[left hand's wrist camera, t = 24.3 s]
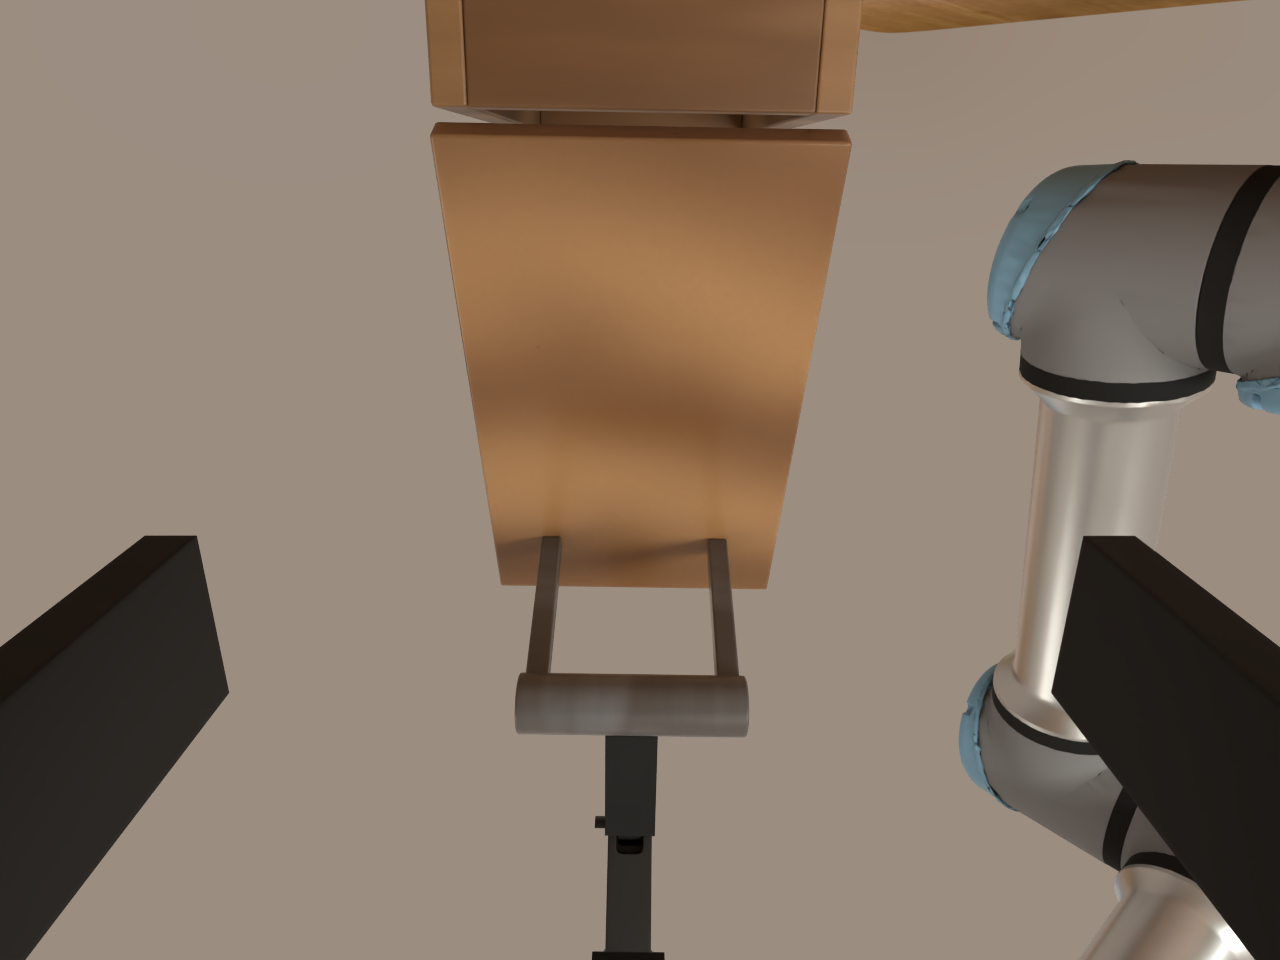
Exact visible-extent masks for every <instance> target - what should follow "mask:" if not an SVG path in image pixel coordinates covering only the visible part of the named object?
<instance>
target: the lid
mask: <svg viewBox="0 0 1280 960" xmlns="http://www.w3.org/2000/svg"><path fill="white" fill-rule="evenodd" d="M430 139H431V146H432V152H433V158H434V165H435V171H436V177H437V183H438V190H439V196H440V202H441V209H442V215H443V221H444V228H445V234H446V240H447V247H448V253H449V259H450V265H451V272H452V278H453V284H454V291H455V297H456V303H457V310H458V316H459V322H460V329H461V335H462V341H463V348H464V354H465V360H466V367H467V373H468V379H469V385H470V392H471V398H472V404H473V411H474V417H475V423H476V430H477V436H478V442H479V448H480V455H481V461H482V468H483V474H484V480H485V486H486V493H487V499H488V505H489V512H490V518H491V524H492V531H493V537H494V543H495V549H496V556H497V562H498V568H499V575H500V581H501V584H502V585H515V586H536V593H535V601H534V610H533V618H532V626H531V635H530V643H529V652H528V660H527V668H526V673H520V675H519V677H518V681H517V688H516V697H515V726H516V731H517V733H518V734H541V735H610V736H680V737H746V735H747V732H748V725H749V695H748V686H747V681H746V678H745V677H744V676H739V669H738V658H737V647H736V636H735V624H734V613H733V601H732V590H731V589H766V588H767V584H768V578H769V573H770V568H771V563H772V557H773V552H774V547H775V542H776V537H777V532H778V526H779V521H780V516H781V510H782V506H783V500H784V495H785V490H786V485H787V480H788V474H789V469H790V464H791V459H792V454H793V448H794V443H795V438H796V433H797V427H798V422H799V417H800V412H801V407H802V401H803V396H804V391H805V386H806V381H807V375H808V370H809V365H810V360H811V355H812V350H813V344H814V339H815V334H816V329H817V324H818V318H819V313H820V308H821V303H822V298H823V292H824V287H825V282H826V277H827V271H828V266H829V261H830V256H831V251H832V246H833V240H834V235H835V230H836V224H837V219H838V214H839V209H840V204H841V199H842V193H843V188H844V183H845V178H846V173H847V167H848V162H849V157H850V152H851V147H852V143H851V140H850V137H849V135H848V133H847V131H846V130H832V129H777V128H723V127H669V126H614V125H560V124H506V123H451V122H438V123H436V124H435V126H434V128H433V130H432V133H431V135H430ZM559 586H580V587H581V586H582V587H646V588H709V592H710V608H711V623H712V638H713V654H714V670H715V675H653V674H584V673H550V671H551V660H552V650H553V639H554V629H555V618H556V608H557V598H558V587H559Z"/></svg>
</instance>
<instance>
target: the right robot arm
mask: <svg viewBox="0 0 1280 960" xmlns="http://www.w3.org/2000/svg"><path fill="white" fill-rule="evenodd" d="M987 305H988V313H989V317H990V318H991V319H992V320H993V325H994V327H995V329H996V330H997V331H998V332H1000V333H1001V334H1003V335H1005V336H1006V337H1008V338H1010V339H1012V340H1019V339H1021V356H1020V368H1019V375H1020V378H1021V380H1022V381H1023V382H1024V383H1025V384H1026V385H1027V386H1028V387H1029V388H1030V389H1031V390H1032V391H1034V392H1035V393H1036V394H1037V395H1038V396H1039V398H1040V406H1039V416H1038V426H1037V437H1036V447H1035V457H1034V467H1033V477H1032V488H1031V498H1030V508H1029V518H1028V528H1027V539H1026V549H1025V559H1024V569H1023V580H1022V590H1021V600H1020V610H1019V621H1018V631H1017V641H1016V650H1015V651H1013V652H1011V653H1009V654H1008V655H1006V656H1005V657H1004V658H1002V660H1001V661H1000V662H999V663H998V664H995V665H994V666H992V667H991V668H989V669H988V670H987V671H986V672H985V673H984V674H983V675H982V676H981V677H980V679H979V680H978V681H977V683H976V684H975V686H974V688H973V689H972V691H971V693H970V695H969V698H968V700H967V703H968V709H967V711H966V712H965V713H963V714H962V719H961V723H960V731H959V750H960V756H961V761H962V764H963V767H964V769H965V771H966V772H967V774H968V776H969V777H970V778H971V780H972V781H973V782H974V783H975V784H976V785H978V786H979V787H981V788H982V789H984V790H985V791H987V792H988V793H990V794H991V795H993V796H994V797H995V798H996V799H997V800H998V801H999V802H1000V803H1001V804H1002V805H1004V806H1006V807H1007V808H1009V809H1011V810H1014V811H1019V812H1021V813H1023V814H1024V815H1026V816H1028V817H1029V818H1031V819H1032V820H1034V821H1036V822H1037V823H1039V824H1041V825H1042V826H1044V827H1046V828H1047V829H1049V830H1051V831H1052V832H1054V833H1056V834H1057V835H1059V836H1060V837H1062V838H1064V839H1065V840H1067V841H1069V842H1070V843H1072V844H1074V845H1075V846H1077V847H1079V848H1080V849H1082V850H1084V851H1085V852H1087V853H1089V854H1090V855H1092V856H1093V857H1095V858H1097V859H1098V860H1100V861H1102V862H1103V863H1105V864H1107V865H1109V866H1111V867H1112V868H1114V869H1116V870H1118V871H1119V873H1118V875H1117V876H1116V878H1115V882H1114V888H1115V894H1116V897H1117V900H1118V902H1119V903H1118V904H1117V906H1116V907H1115V908H1114V910H1113V911H1112V913H1111V914H1110V915H1109V917H1108V918H1107V920H1106V921H1105V923H1104V924H1103V925H1102V927H1101V928H1100V930H1099V931H1098V933H1097V934H1096V935H1095V937H1094V938H1093V940H1092V941H1091V942H1090V944H1089V945H1088V947H1087V948H1086V950H1085V951H1084V952H1083V954H1082V955H1081V957H1080V958H1079V960H1254V958H1253V957H1252V956H1251V954H1250V953H1249V952H1248V950H1247V949H1246V948H1245V946H1244V945H1243V944H1242V942H1241V941H1240V940H1239V939H1238V937H1237V936H1236V935H1235V933H1234V932H1233V931H1232V929H1231V928H1230V927H1229V925H1228V924H1227V923H1226V922H1225V920H1224V919H1223V918H1222V916H1221V915H1220V914H1219V912H1218V911H1217V910H1216V908H1215V907H1214V906H1213V904H1212V903H1211V902H1210V901H1209V899H1208V898H1207V897H1206V895H1205V894H1204V893H1203V891H1202V890H1201V889H1200V887H1199V886H1198V885H1197V884H1196V882H1195V881H1194V880H1193V878H1192V877H1191V876H1190V874H1189V873H1188V872H1187V870H1186V869H1185V868H1184V866H1183V865H1182V864H1181V863H1180V861H1179V860H1178V859H1177V857H1176V856H1175V855H1174V853H1173V852H1172V851H1171V849H1170V848H1169V847H1168V846H1167V844H1166V843H1165V842H1164V840H1163V839H1162V838H1161V836H1160V835H1159V834H1158V832H1157V831H1156V830H1155V828H1154V827H1153V826H1152V825H1151V823H1150V822H1149V821H1148V819H1147V818H1146V817H1145V815H1144V814H1143V813H1142V811H1141V810H1140V809H1139V808H1138V806H1137V805H1136V804H1135V802H1134V801H1133V800H1132V798H1131V797H1130V796H1129V794H1128V793H1127V792H1126V790H1125V789H1124V788H1123V787H1122V785H1121V784H1120V783H1119V781H1118V780H1117V779H1116V777H1115V776H1114V775H1113V773H1112V772H1111V771H1110V770H1109V768H1108V767H1107V766H1106V764H1105V763H1104V762H1103V760H1102V759H1101V758H1100V756H1099V755H1098V754H1097V752H1096V751H1095V750H1094V749H1093V747H1092V746H1091V745H1090V743H1089V742H1088V741H1087V739H1086V738H1085V737H1084V735H1083V734H1082V733H1081V732H1080V730H1079V729H1078V728H1077V726H1076V725H1075V724H1074V722H1073V721H1072V720H1071V718H1070V717H1069V716H1068V715H1067V713H1066V712H1065V711H1064V709H1063V708H1062V707H1061V705H1060V704H1059V703H1058V701H1057V700H1056V699H1055V697H1054V696H1053V695H1052V694H1051V690H1052V685H1053V680H1054V675H1055V671H1056V666H1057V661H1058V656H1059V651H1060V646H1061V641H1062V637H1063V632H1064V627H1065V622H1066V617H1067V612H1068V608H1069V603H1070V598H1071V593H1072V588H1073V583H1074V578H1075V574H1076V569H1077V564H1078V559H1079V554H1080V549H1081V544H1082V540H1083V536H1136V537H1137V538H1139V539H1140V540H1141V541H1143V542H1144V543H1145V544H1146V545H1148V546H1149V547H1150V548H1152V549H1153V550H1154V551H1156V549H1157V544H1158V538H1159V533H1160V527H1161V521H1162V516H1163V510H1164V505H1165V499H1166V493H1167V488H1168V482H1169V477H1170V471H1171V465H1172V459H1173V454H1174V448H1175V443H1176V437H1177V431H1178V426H1179V420H1180V414H1181V409H1182V407H1183V406H1185V405H1187V404H1188V403H1190V402H1192V401H1194V400H1195V399H1197V398H1199V397H1200V396H1202V395H1204V394H1205V393H1207V392H1208V391H1209V390H1210V389H1211V388H1212V386H1213V384H1214V381H1215V376H1216V371H1221V372H1227V373H1232V374H1237V375H1239V376H1240V377H1241V378H1240V379H1239V380H1238V381H1237V384H1236V388H1237V390H1238V396H1239V400H1240V401H1241V402H1242V403H1243V404H1244V405H1247V406H1248V407H1251V408H1254V409H1260V410H1265V411H1267V412H1269V413H1273V414H1279V415H1280V166H1274V165H1180V164H1139V163H1136V162H1135V161H1131V160H1124V161H1121V162H1118V163H1115V164H1102V165H1079V166H1072V167H1067V168H1064V169H1061V170H1059V171H1057V172H1055V173H1053V174H1051V175H1050V176H1048V177H1047V178H1045V179H1044V180H1043V181H1042V182H1040V183H1039V184H1038V185H1037V186H1036V187H1035V188H1034V189H1033V190H1032V191H1031V192H1030V193H1029V194H1028V195H1027V197H1026V198H1025V199H1024V200H1023V202H1022V203H1021V205H1020V206H1019V208H1018V210H1017V212H1016V213H1015V215H1014V216H1013V218H1012V219H1011V220H1010V222H1009V224H1008V226H1007V228H1006V230H1005V232H1004V234H1003V236H1002V238H1001V241H1000V243H999V246H998V248H997V251H996V254H995V257H994V260H993V264H992V268H991V272H990V277H989V283H988V293H987ZM605 739H606V740H605V816H596V817H595V828H605V835H608V868H607V910H606V949H605V950H604V951H603V952H592V960H664V952H652V950H651V848H652V836H655V807H656V773H657V740H658V736H610V735H606V737H605Z"/></svg>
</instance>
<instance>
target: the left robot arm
mask: <svg viewBox="0 0 1280 960" xmlns="http://www.w3.org/2000/svg"><path fill="white" fill-rule="evenodd" d="M228 694H229V690H228V685H227V680H226V675H225V671H224V666H223V661H222V656H221V651H220V646H219V642H218V637H217V632H216V627H215V622H214V617H213V612H212V608H211V603H210V598H209V593H208V588H207V583H206V578H205V574H204V569H203V564H202V559H201V554H200V550H199V544H198V540H197V536H144V537H143V538H141V539H140V540H139V541H137V542H136V543H135V544H134V545H132V546H131V547H130V548H128V549H127V550H126V551H124V552H123V553H122V554H121V555H119V556H118V557H117V558H115V559H114V560H113V561H112V562H110V563H109V564H108V565H106V566H105V567H104V568H102V569H101V570H100V571H98V572H97V573H96V574H95V575H93V576H92V577H91V578H89V579H88V580H87V581H86V582H84V583H83V584H82V585H80V586H79V587H78V588H76V589H75V590H74V591H73V592H71V593H70V594H69V595H67V596H66V597H65V598H63V599H62V600H61V601H60V602H58V603H57V604H56V605H54V606H53V607H52V608H50V609H49V610H48V611H47V612H45V613H44V614H43V615H41V616H40V617H39V618H37V619H36V620H35V621H34V622H32V623H31V624H30V625H28V626H27V627H26V628H24V629H23V630H22V631H21V632H19V633H18V634H17V635H15V636H14V637H13V638H12V639H10V640H9V641H8V642H6V643H5V644H4V645H2V646H1V647H0V960H26V958H27V957H28V956H29V954H30V953H31V952H32V950H33V949H34V948H35V946H36V945H37V944H38V942H39V941H40V940H41V938H42V937H43V936H44V935H45V933H46V932H47V931H48V929H49V928H50V927H51V925H52V924H53V923H54V922H55V920H56V919H57V917H58V916H59V915H60V914H61V912H62V911H63V910H64V908H65V907H66V906H67V904H68V903H69V902H70V901H71V899H72V898H73V897H74V895H75V894H76V893H77V891H78V890H79V889H80V887H81V886H82V885H83V883H84V882H85V881H86V880H87V878H88V877H89V876H90V874H91V873H92V872H93V870H94V869H95V868H96V866H97V865H98V864H99V863H100V861H101V860H102V859H103V857H104V856H105V855H106V853H107V852H108V851H109V849H110V848H111V847H112V846H113V844H114V843H115V842H116V840H117V839H118V838H119V836H120V835H121V834H122V832H123V831H124V830H125V828H126V827H127V826H128V824H129V823H130V822H131V821H132V819H133V818H134V817H135V815H136V814H137V813H138V811H139V810H140V809H141V807H142V806H143V805H144V804H145V802H146V801H147V800H148V798H149V797H150V796H151V794H152V793H153V792H154V790H155V789H156V788H157V787H158V785H159V784H160V783H161V781H162V780H163V779H164V777H165V776H166V775H167V773H168V772H169V771H170V770H171V768H172V767H173V766H174V764H175V763H176V762H177V760H178V759H179V758H180V756H181V755H182V754H183V752H184V751H185V750H186V749H187V747H188V746H189V745H190V743H191V742H192V741H193V739H194V738H195V737H196V735H197V734H198V733H199V732H200V730H201V729H202V728H203V726H204V725H205V724H206V722H207V721H208V720H209V718H210V717H211V716H212V714H213V713H214V712H215V710H216V709H217V708H218V707H219V705H220V704H221V703H222V701H223V700H224V699H225V697H226V696H227V695H228ZM1051 694H1052V695H1053V696H1054V697H1055V699H1056V700H1057V701H1058V703H1059V704H1060V705H1061V707H1062V708H1063V709H1064V711H1065V712H1066V713H1067V715H1068V716H1069V717H1070V718H1071V720H1072V721H1073V722H1074V724H1075V725H1076V726H1077V728H1078V729H1079V730H1080V732H1081V733H1082V734H1083V735H1084V737H1085V738H1086V739H1087V741H1088V742H1089V743H1090V745H1091V746H1092V747H1093V749H1094V750H1095V751H1096V752H1097V754H1098V755H1099V756H1100V758H1101V759H1102V760H1103V762H1104V763H1105V764H1106V766H1107V767H1108V768H1109V770H1110V771H1111V772H1112V773H1113V775H1114V776H1115V777H1116V779H1117V780H1118V781H1119V783H1120V784H1121V785H1122V787H1123V788H1124V789H1125V790H1126V792H1127V793H1128V794H1129V796H1130V797H1131V798H1132V800H1133V801H1134V802H1135V804H1136V805H1137V806H1138V808H1139V809H1140V810H1141V811H1142V813H1143V814H1144V815H1145V817H1146V818H1147V819H1148V821H1149V822H1150V823H1151V825H1152V826H1153V827H1154V828H1155V830H1156V831H1157V832H1158V834H1159V835H1160V836H1161V838H1162V839H1163V840H1164V842H1165V843H1166V844H1167V846H1168V847H1169V848H1170V849H1171V851H1172V852H1173V853H1174V855H1175V856H1176V857H1177V859H1178V860H1179V861H1180V863H1181V864H1182V865H1183V866H1184V868H1185V869H1186V870H1187V872H1188V873H1189V874H1190V876H1191V877H1192V878H1193V880H1194V881H1195V882H1196V884H1197V885H1198V886H1199V887H1200V889H1201V890H1202V891H1203V893H1204V894H1205V895H1206V897H1207V898H1208V899H1209V901H1210V902H1211V903H1212V904H1213V906H1214V907H1215V908H1216V910H1217V911H1218V912H1219V914H1220V915H1221V916H1222V918H1223V919H1224V920H1225V922H1226V923H1227V924H1228V925H1229V927H1230V928H1231V929H1232V931H1233V932H1234V933H1235V935H1236V936H1237V937H1238V939H1239V940H1240V941H1241V942H1242V944H1243V945H1244V946H1245V948H1246V949H1247V950H1248V952H1249V953H1250V954H1251V956H1252V957H1253V958H1254V960H1280V647H1279V646H1278V645H1276V644H1275V643H1274V642H1272V641H1271V640H1270V639H1269V638H1267V637H1266V636H1265V635H1263V634H1262V633H1261V632H1259V631H1258V630H1257V629H1256V628H1254V627H1253V626H1252V625H1250V624H1249V623H1248V622H1246V621H1245V620H1244V619H1243V618H1241V617H1240V616H1239V615H1237V614H1236V613H1235V612H1233V611H1232V610H1231V609H1230V608H1228V607H1227V606H1226V605H1224V604H1223V603H1222V602H1220V601H1219V600H1218V599H1217V598H1215V597H1214V596H1213V595H1211V594H1210V593H1209V592H1207V591H1206V590H1205V589H1204V588H1202V587H1201V586H1200V585H1198V584H1197V583H1196V582H1194V581H1193V580H1192V579H1191V578H1189V577H1188V576H1187V575H1185V574H1184V573H1183V572H1182V571H1180V570H1179V569H1178V568H1176V567H1175V566H1174V565H1172V564H1171V563H1170V562H1169V561H1167V560H1166V559H1165V558H1163V557H1162V556H1161V555H1159V554H1158V553H1157V552H1156V551H1154V550H1153V549H1152V548H1150V547H1149V546H1148V545H1146V544H1145V543H1144V542H1143V541H1141V540H1140V539H1139V538H1137V537H1136V536H1083V540H1082V544H1081V549H1080V554H1079V559H1078V564H1077V569H1076V574H1075V578H1074V583H1073V588H1072V593H1071V598H1070V603H1069V608H1068V612H1067V617H1066V622H1065V627H1064V632H1063V637H1062V641H1061V646H1060V651H1059V656H1058V661H1057V666H1056V671H1055V675H1054V680H1053V685H1052V690H1051Z"/></svg>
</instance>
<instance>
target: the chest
mask: <svg viewBox="0 0 1280 960" xmlns="http://www.w3.org/2000/svg"><path fill="white" fill-rule="evenodd" d="M862 1H863V0H425V11H426V27H427V42H428V58H429V74H430V90H431V103H432V105H433V106H435V107H438V108H441V109H445V110H448V111H452V112H455V113H459V114H462V115H466V116H469V117H473V118H476V119H480V120H484V121H487V122H490V123H506V124H560V125H614V126H669V127H723V128H777V129H791V128H795V127H799V126H803V125H807V124H812V123H816V122H820V121H824V120H828V119H832V118H836V117H840V116H844V115H849V114H851V112H852V105H853V95H854V84H855V74H856V64H857V53H858V43H859V32H860V22H861V12H862Z"/></svg>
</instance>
